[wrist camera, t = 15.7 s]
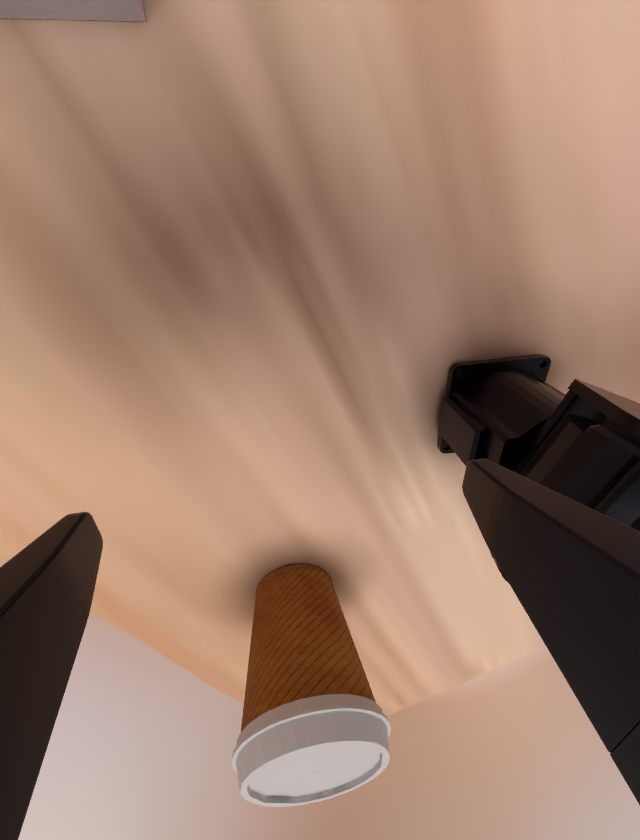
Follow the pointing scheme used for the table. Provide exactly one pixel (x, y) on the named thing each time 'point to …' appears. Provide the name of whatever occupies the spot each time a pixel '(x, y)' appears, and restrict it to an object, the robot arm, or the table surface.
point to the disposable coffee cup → (305, 698)
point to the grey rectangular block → (73, 10)
